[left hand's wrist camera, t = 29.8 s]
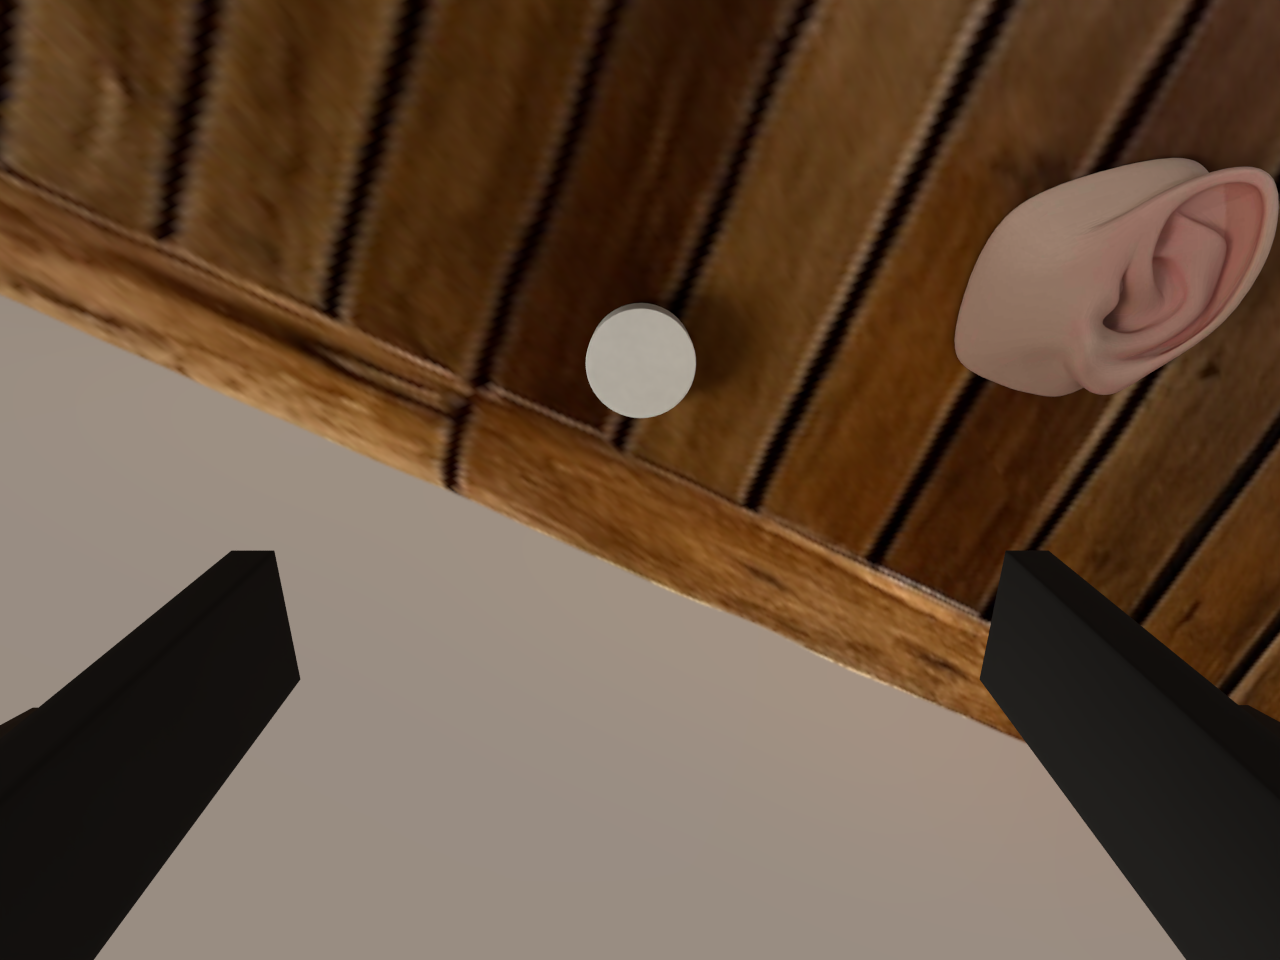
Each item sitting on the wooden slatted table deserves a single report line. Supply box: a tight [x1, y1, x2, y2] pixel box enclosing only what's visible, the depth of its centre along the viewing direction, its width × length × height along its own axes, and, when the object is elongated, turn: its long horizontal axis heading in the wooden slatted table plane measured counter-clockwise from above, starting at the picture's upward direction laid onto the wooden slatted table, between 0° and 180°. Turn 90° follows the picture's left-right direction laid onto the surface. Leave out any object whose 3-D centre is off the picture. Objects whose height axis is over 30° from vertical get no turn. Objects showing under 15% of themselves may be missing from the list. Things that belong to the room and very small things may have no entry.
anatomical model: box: [955, 158, 1279, 396], centre depth 35 cm, size 13×4×12 cm
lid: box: [586, 303, 696, 418], centre depth 37 cm, size 6×6×2 cm
